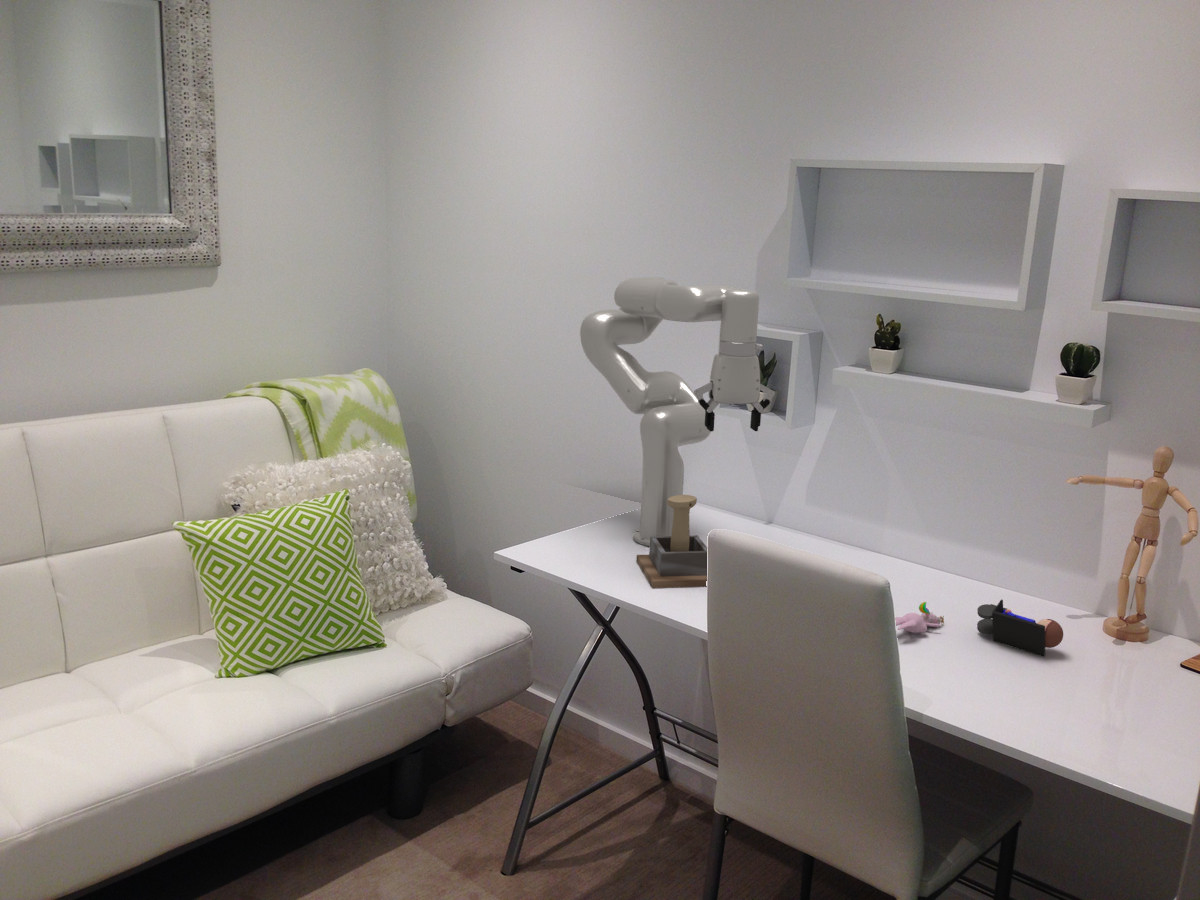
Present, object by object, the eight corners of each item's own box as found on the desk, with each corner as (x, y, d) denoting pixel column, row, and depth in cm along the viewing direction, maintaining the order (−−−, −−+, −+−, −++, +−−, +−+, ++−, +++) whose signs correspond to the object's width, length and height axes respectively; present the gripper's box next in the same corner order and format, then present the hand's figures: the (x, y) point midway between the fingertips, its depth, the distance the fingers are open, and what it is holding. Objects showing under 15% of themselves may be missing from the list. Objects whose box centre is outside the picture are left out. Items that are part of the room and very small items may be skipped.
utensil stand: (636, 561, 227) (637, 533, 226) (702, 559, 230) (704, 531, 228) (652, 588, 212) (653, 558, 210) (723, 586, 215) (725, 556, 213)
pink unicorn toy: (920, 624, 202) (878, 631, 192) (926, 594, 202) (884, 600, 191) (949, 634, 198) (907, 642, 188) (956, 604, 197) (914, 610, 187)
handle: (697, 566, 221) (701, 498, 218) (676, 572, 217) (680, 503, 213) (680, 560, 225) (684, 493, 221) (659, 566, 220) (663, 498, 217)
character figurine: (983, 629, 198) (1063, 656, 188) (966, 637, 193) (1047, 664, 183) (990, 590, 197) (1071, 615, 186) (973, 597, 191) (1055, 622, 181)
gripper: (771, 347, 220) (765, 425, 225) (692, 346, 217) (687, 426, 222) (783, 352, 213) (777, 433, 217) (701, 351, 210) (697, 434, 214)
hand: (732, 429), depth 219 cm, fingers open, 9 cm apart
